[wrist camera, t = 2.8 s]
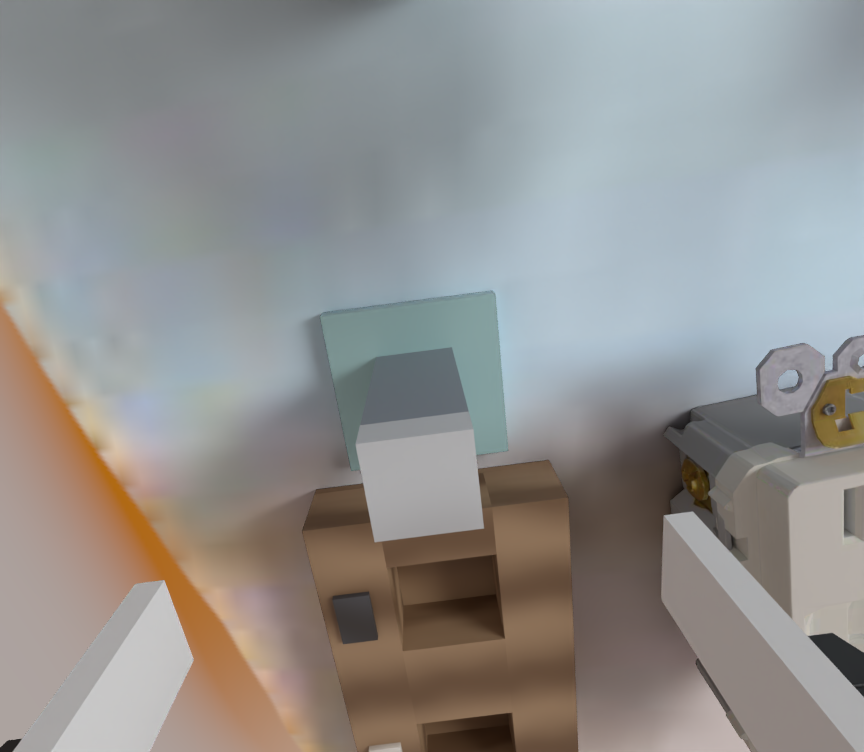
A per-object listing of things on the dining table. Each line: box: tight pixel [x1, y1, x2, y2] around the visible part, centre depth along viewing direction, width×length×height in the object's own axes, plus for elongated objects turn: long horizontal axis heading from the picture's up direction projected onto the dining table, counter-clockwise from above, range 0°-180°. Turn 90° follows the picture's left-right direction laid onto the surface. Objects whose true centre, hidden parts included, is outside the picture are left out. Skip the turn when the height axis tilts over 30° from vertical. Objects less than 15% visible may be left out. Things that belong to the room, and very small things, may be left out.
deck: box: [320, 291, 508, 471], centre depth 27 cm, size 9×9×1 cm
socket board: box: [302, 460, 578, 752], centre depth 32 cm, size 24×14×4 cm, turn 7°
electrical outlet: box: [664, 335, 864, 752], centre depth 27 cm, size 12×28×10 cm, turn 12°
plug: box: [356, 347, 484, 542], centre depth 22 cm, size 4×4×10 cm
